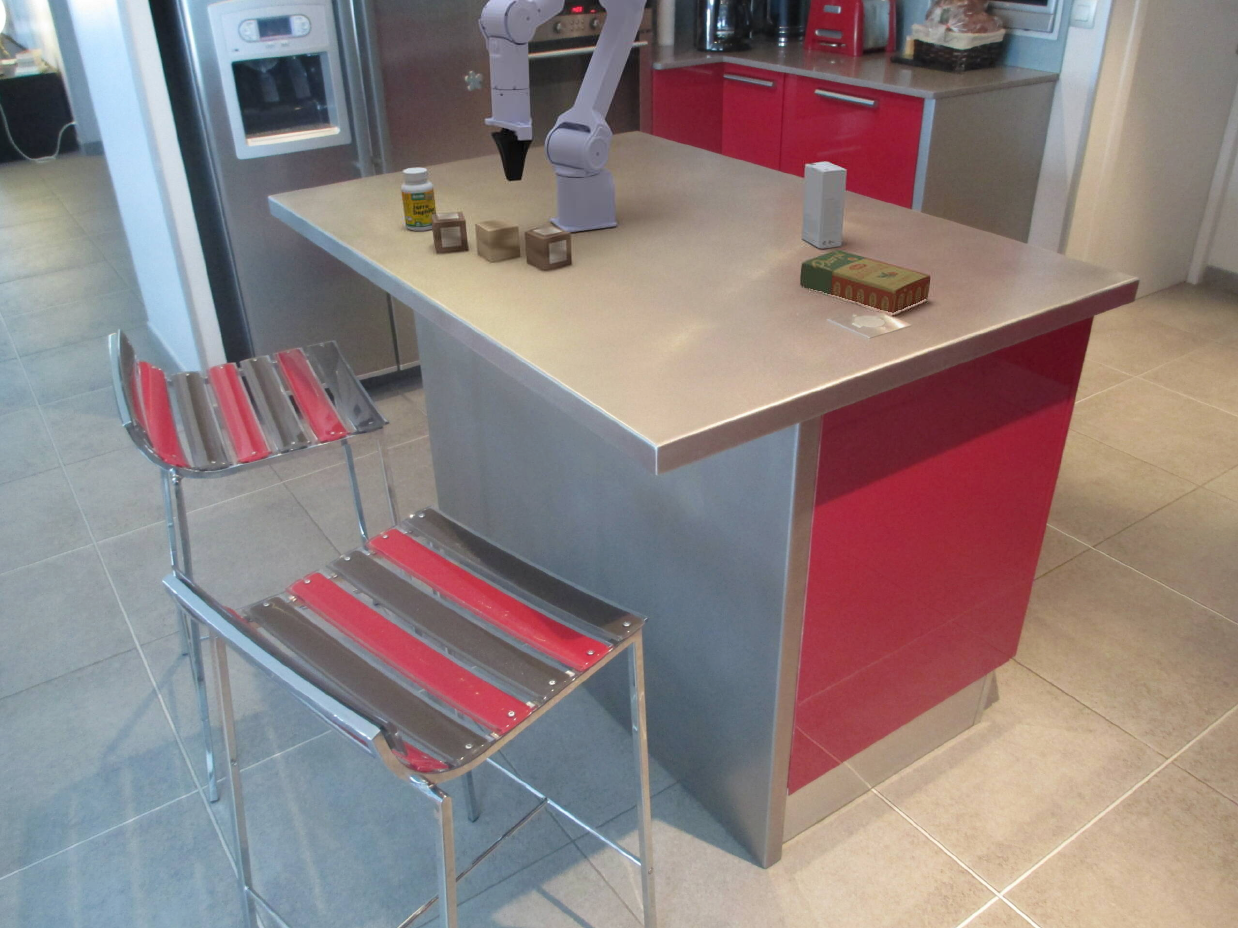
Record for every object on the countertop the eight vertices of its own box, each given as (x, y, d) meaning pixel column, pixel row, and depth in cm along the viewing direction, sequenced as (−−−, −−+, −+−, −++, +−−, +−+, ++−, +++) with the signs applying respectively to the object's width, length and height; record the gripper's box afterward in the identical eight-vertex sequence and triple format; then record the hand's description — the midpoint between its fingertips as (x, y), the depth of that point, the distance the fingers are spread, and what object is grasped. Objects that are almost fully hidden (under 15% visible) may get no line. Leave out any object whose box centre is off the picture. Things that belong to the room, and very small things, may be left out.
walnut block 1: (464, 242, 161) (461, 210, 158) (468, 251, 157) (465, 219, 154) (434, 244, 160) (430, 213, 157) (436, 254, 156) (433, 222, 153)
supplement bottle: (429, 220, 171) (423, 164, 166) (442, 228, 167) (436, 171, 163) (400, 226, 169) (393, 169, 164) (413, 233, 165) (406, 176, 160)
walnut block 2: (553, 256, 154) (552, 224, 151) (572, 265, 150) (571, 232, 148) (526, 263, 151) (524, 230, 149) (545, 272, 148) (543, 238, 145)
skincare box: (842, 246, 156) (850, 169, 150) (817, 250, 155) (824, 172, 149) (822, 235, 161) (829, 160, 155) (798, 239, 160) (804, 163, 154)
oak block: (506, 249, 158) (504, 218, 155) (520, 257, 154) (518, 226, 151) (477, 254, 155) (475, 223, 153) (491, 263, 152) (488, 231, 149)
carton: (891, 319, 131) (895, 289, 128) (797, 288, 141) (799, 259, 139) (927, 303, 135) (932, 273, 133) (834, 274, 146) (837, 246, 144)
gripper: (471, 82, 152) (477, 172, 158) (497, 96, 140) (501, 192, 146) (516, 80, 154) (519, 169, 160) (544, 93, 142) (547, 188, 149)
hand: (513, 180), depth 153 cm, fingers closed
